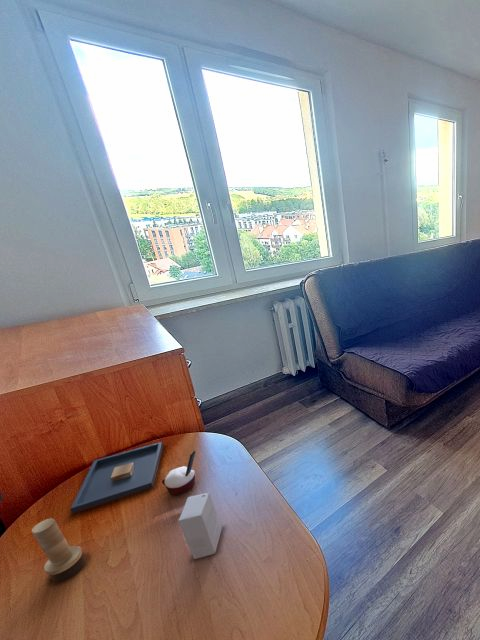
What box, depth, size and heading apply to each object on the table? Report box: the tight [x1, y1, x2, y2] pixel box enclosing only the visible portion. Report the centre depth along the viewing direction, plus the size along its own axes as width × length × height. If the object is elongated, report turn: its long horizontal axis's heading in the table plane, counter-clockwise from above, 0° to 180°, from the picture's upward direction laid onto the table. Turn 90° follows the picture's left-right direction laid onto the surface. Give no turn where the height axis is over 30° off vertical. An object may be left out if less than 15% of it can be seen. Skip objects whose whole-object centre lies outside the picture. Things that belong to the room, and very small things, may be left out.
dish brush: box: [31, 517, 87, 583], centre depth 67 cm, size 5×5×13 cm
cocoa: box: [161, 450, 196, 496], centre depth 85 cm, size 10×6×12 cm, turn 70°
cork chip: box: [111, 463, 135, 482], centre depth 91 cm, size 4×4×2 cm
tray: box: [70, 441, 164, 514], centre depth 91 cm, size 16×18×2 cm
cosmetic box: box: [178, 491, 223, 560], centre depth 72 cm, size 6×4×12 cm
